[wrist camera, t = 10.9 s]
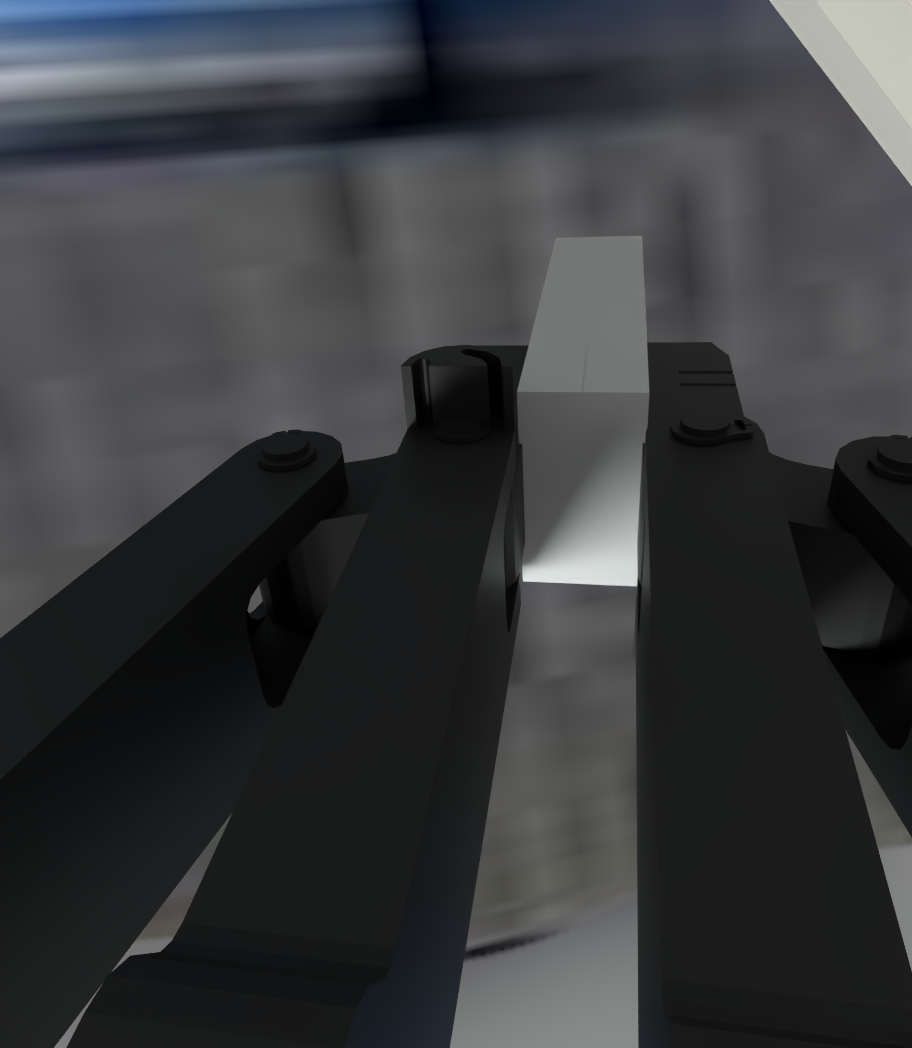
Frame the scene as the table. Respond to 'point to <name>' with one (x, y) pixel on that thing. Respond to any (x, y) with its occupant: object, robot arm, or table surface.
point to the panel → (864, 62)
